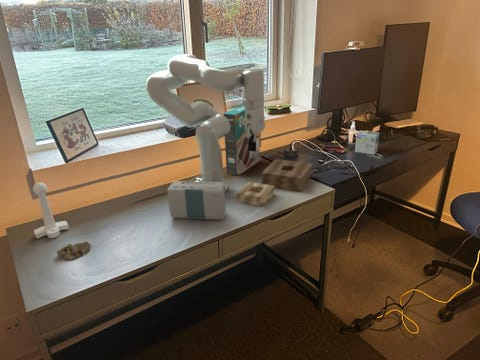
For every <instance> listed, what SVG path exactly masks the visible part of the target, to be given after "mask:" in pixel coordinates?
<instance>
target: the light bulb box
mask: <svg viewBox="0 0 480 360" xmlns="http://www.w3.org/2000/svg"><path fill="white" fill-rule="evenodd" d="M379 138H380V132H376V131H368V130H359V131H357V132H356V136H355V146H354V147H355V148H354V152H355V153H360V154H368V155H375V154H376V153H377V152H378V147H379V141H380V140H379Z"/></svg>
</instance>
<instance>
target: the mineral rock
mask: <svg viewBox="0 0 480 360" xmlns="http://www.w3.org/2000/svg"><path fill="white" fill-rule="evenodd" d="M91 245H92V244H91V243H89V242H88V241H85V242H77V243H74V244H73V243H67V244H66V246H63V247H62V248H61V249H60V248H59V250H57V251H56V254H57V257H58V258H59V259H60V260H61V261H73V260H74V259H77V258H80V257H81V256H83V255H86V254H87V253H89V251H90V250H91V248H92V246H91Z"/></svg>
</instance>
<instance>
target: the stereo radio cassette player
mask: <svg viewBox="0 0 480 360" xmlns="http://www.w3.org/2000/svg"><path fill="white" fill-rule="evenodd" d="M218 168H220V167H218ZM215 169H217V168H215ZM215 169H213V170H215ZM213 170H211V171H213ZM211 171H208V172H206V173H204V174H200V175H197V176H195V177H193V178H192V179H189V180H175V181H173V182H172V183H171V184H170V185H169V187H168V188H167V199H168V200H167V201H168V208H169V214H170V218H173V219H189V220H191V219H192V220H194V219H195V220H214V221H215V220H217V221H221V220H223V219H224V218H225V216H226V199H225V192H224V183H225V182H224V183H223V182H196V178H201V177H202V176H203V175H205V174H207V173H209V172H211Z"/></svg>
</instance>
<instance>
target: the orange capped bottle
mask: <svg viewBox="0 0 480 360" xmlns="http://www.w3.org/2000/svg"><path fill="white" fill-rule="evenodd" d="M251 133H252V132H251ZM251 136H252V137H253V135H251ZM260 138H261V137H260V133H259V134H257V135H256V136H255V141H256V151H250V157H251V158H258V157H259V158H260V157H261V147H260Z"/></svg>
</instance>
